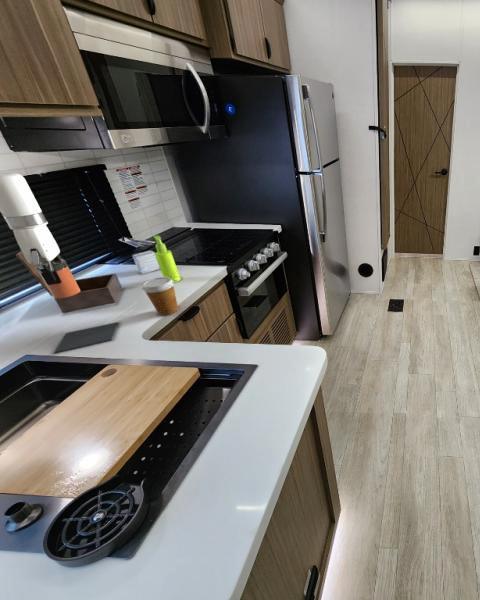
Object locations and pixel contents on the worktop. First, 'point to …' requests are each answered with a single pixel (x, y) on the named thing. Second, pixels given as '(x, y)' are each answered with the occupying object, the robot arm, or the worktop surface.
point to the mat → (87, 337)
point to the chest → (92, 293)
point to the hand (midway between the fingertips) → (58, 278)
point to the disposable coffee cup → (161, 294)
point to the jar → (68, 282)
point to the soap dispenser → (166, 261)
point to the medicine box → (146, 261)
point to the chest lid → (32, 270)
